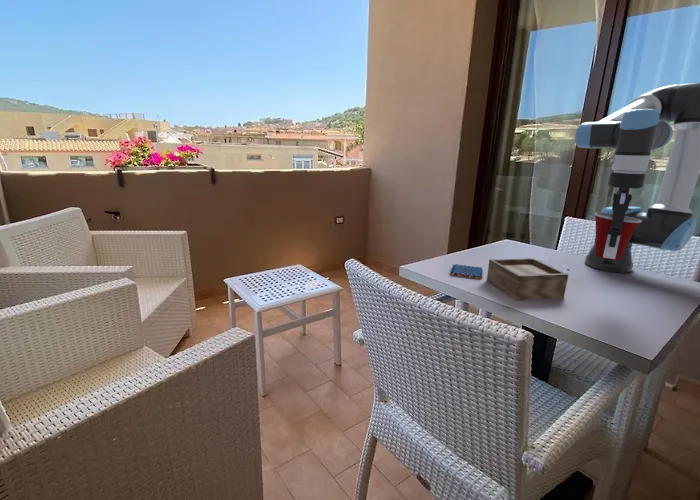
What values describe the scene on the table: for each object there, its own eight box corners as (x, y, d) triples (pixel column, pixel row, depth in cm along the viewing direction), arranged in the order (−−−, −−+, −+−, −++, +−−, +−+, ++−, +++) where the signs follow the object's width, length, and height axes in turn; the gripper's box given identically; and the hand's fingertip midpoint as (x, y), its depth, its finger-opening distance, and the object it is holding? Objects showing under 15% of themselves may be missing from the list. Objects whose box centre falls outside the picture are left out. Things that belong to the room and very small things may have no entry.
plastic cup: (640, 264, 96) (652, 220, 93) (595, 261, 98) (605, 217, 95) (620, 253, 107) (629, 212, 103) (579, 250, 109) (588, 210, 105)
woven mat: (482, 281, 122) (483, 275, 121) (449, 277, 126) (450, 271, 125) (482, 272, 131) (483, 266, 131) (452, 268, 135) (453, 263, 134)
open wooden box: (529, 279, 124) (533, 258, 122) (563, 298, 109) (568, 274, 107) (486, 280, 121) (489, 259, 119) (515, 300, 106) (518, 276, 104)
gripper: (611, 169, 106) (595, 243, 113) (609, 173, 90) (591, 260, 96) (643, 171, 102) (625, 248, 109) (648, 175, 85) (626, 266, 92)
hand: (609, 253), depth 102 cm, fingers closed on plastic cup, 9 cm apart
